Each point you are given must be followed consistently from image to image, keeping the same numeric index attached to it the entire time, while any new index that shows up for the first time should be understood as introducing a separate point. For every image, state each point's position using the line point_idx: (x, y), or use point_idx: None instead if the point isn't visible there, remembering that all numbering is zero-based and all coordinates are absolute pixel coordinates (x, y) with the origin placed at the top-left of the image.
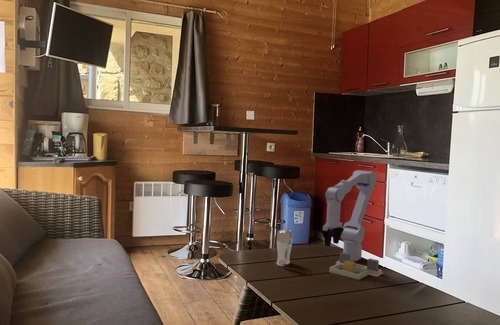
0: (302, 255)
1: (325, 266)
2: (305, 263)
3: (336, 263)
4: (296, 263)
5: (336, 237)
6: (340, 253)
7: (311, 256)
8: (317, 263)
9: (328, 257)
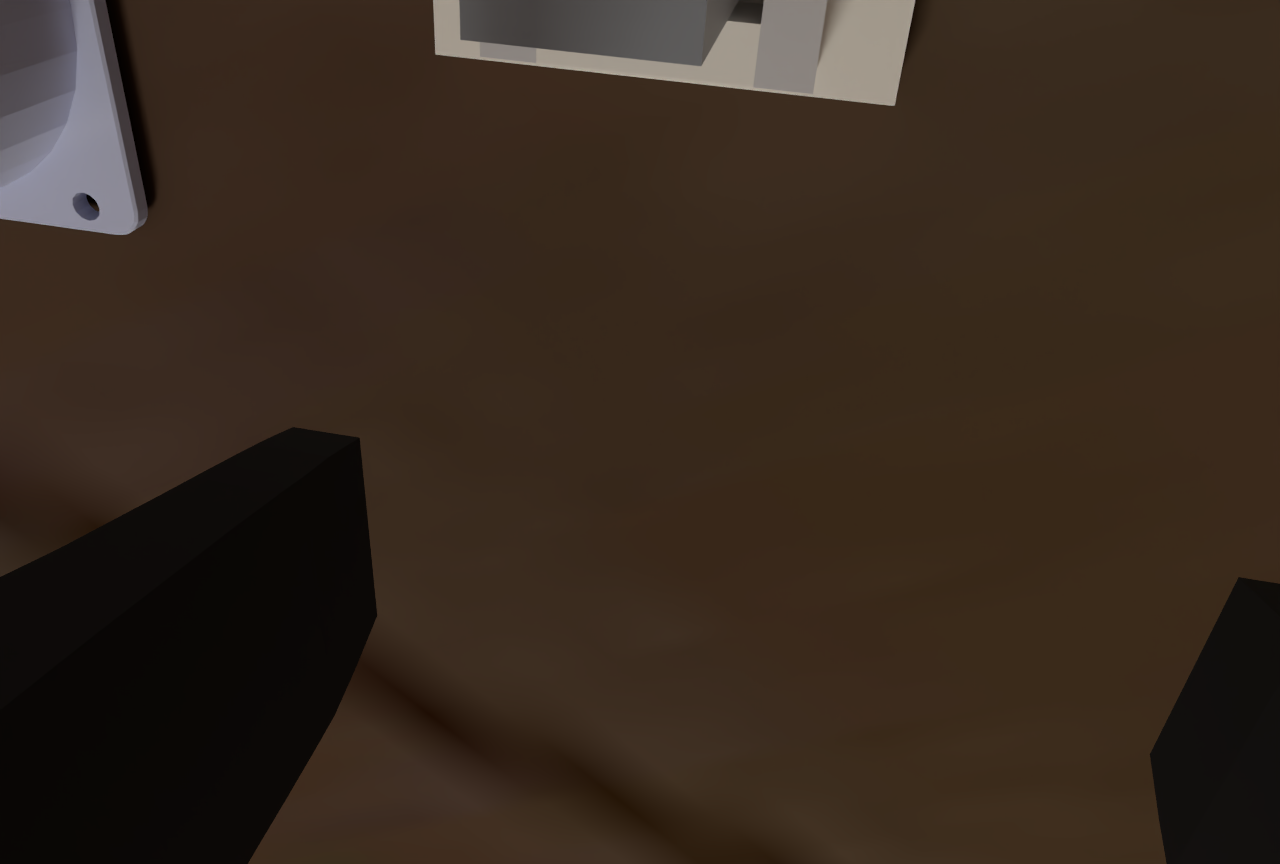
0: (461, 835)
1: (884, 305)
2: (942, 687)
3: (815, 56)
4: (1060, 798)
5: (174, 749)
6: (709, 23)
7: (385, 723)
8: (764, 517)
9: (153, 484)
